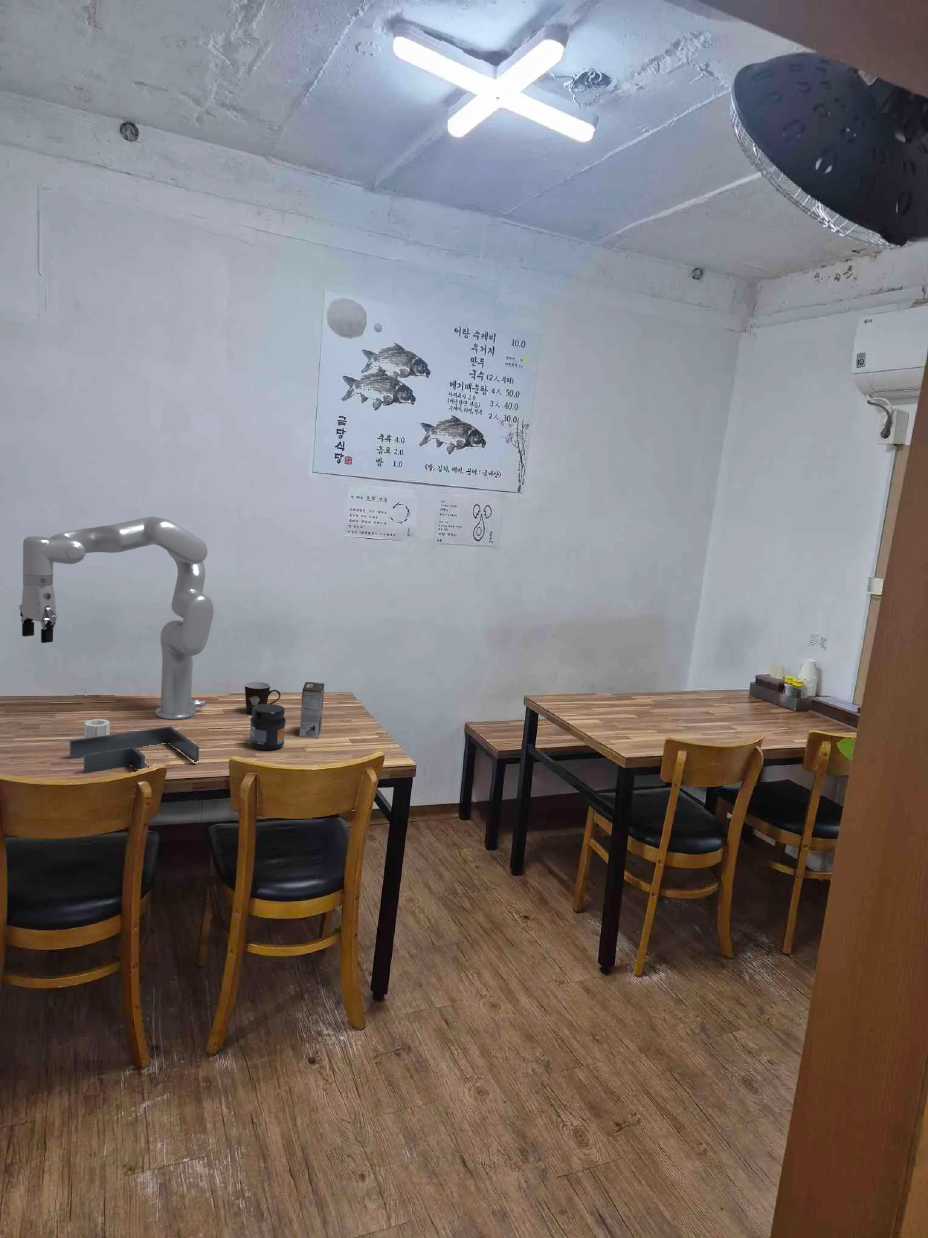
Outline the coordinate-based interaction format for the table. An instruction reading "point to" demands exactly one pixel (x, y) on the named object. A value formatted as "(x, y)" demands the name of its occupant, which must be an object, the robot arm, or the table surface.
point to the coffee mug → (257, 695)
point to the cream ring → (96, 728)
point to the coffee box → (311, 710)
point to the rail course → (127, 748)
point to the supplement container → (267, 727)
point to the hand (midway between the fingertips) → (37, 639)
